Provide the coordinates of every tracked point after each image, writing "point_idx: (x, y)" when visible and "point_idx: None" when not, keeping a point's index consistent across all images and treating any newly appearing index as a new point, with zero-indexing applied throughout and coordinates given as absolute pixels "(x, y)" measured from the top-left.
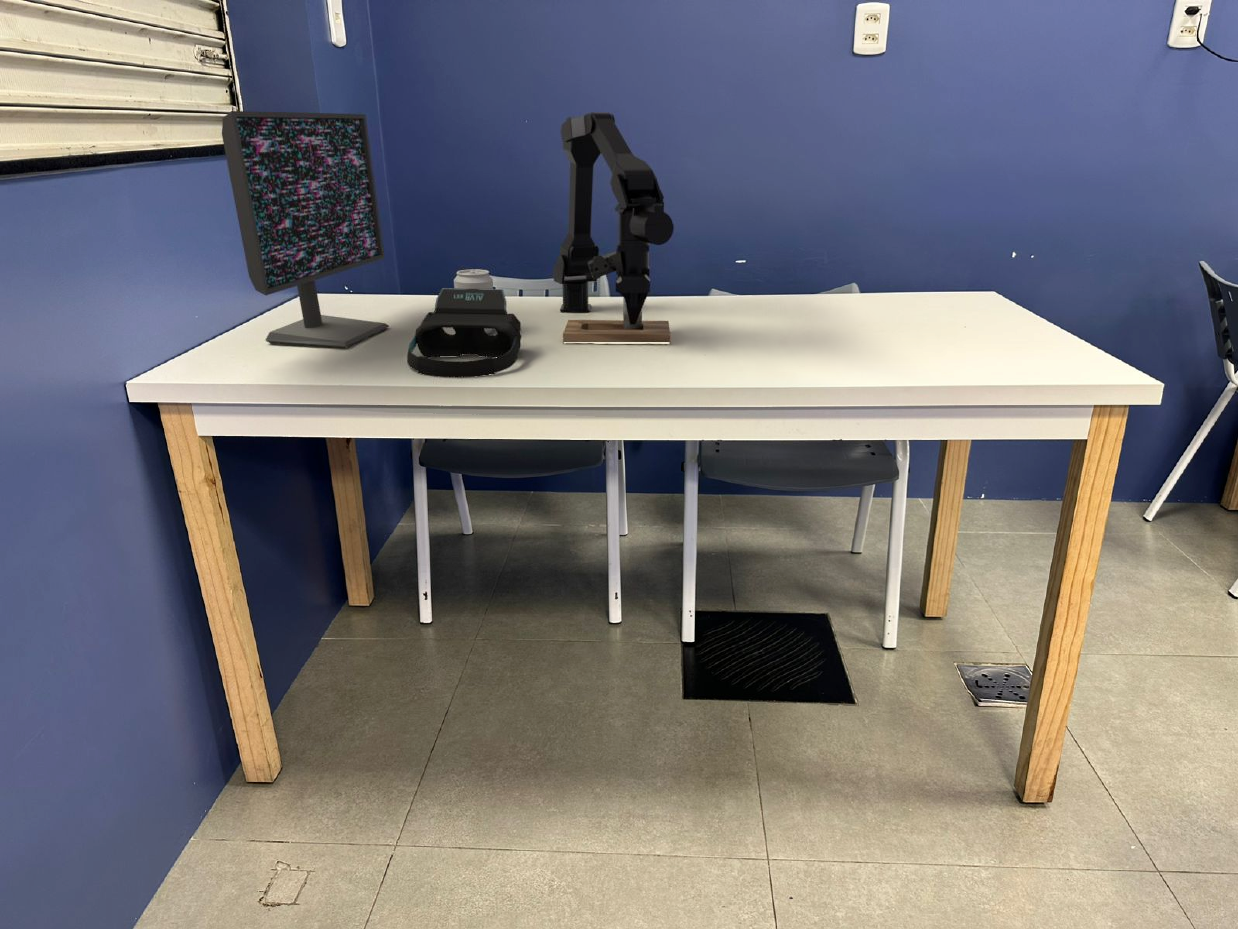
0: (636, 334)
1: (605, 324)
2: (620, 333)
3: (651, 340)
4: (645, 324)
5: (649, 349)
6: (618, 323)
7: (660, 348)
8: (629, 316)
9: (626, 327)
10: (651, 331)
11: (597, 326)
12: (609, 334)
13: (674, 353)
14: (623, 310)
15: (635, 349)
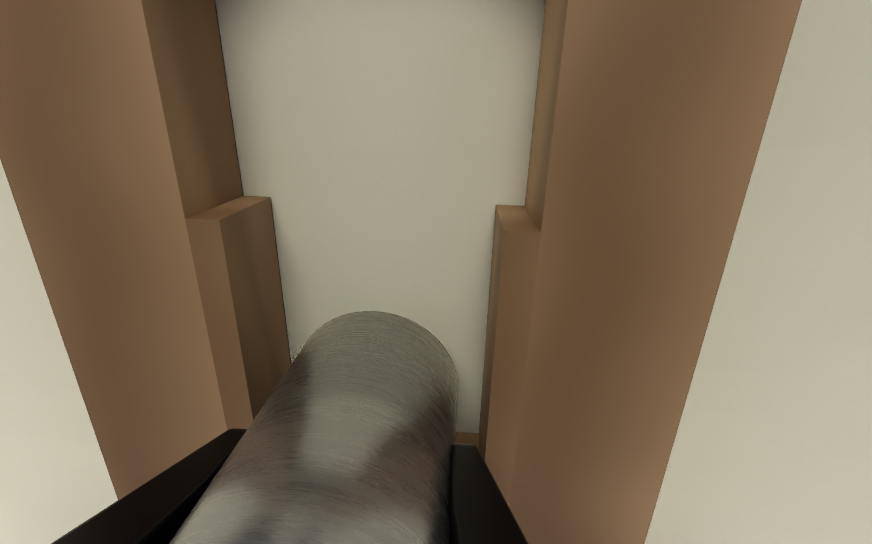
0: (97, 425)
1: (547, 139)
2: (71, 302)
3: None
4: None
5: (61, 437)
6: (534, 295)
7: (108, 491)
8: (146, 493)
9: (290, 368)
10: None
11: (555, 28)
12: (19, 192)
13: (23, 539)
14: (273, 481)
15: (28, 360)
